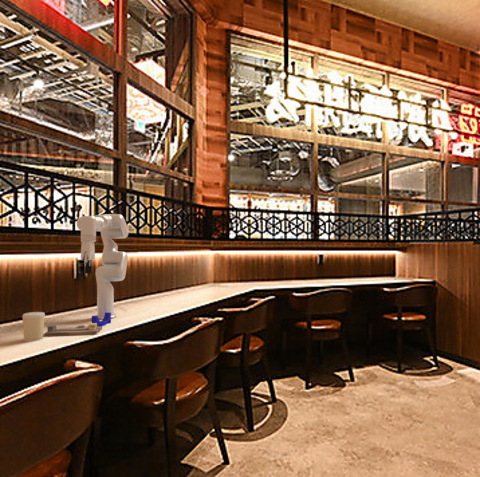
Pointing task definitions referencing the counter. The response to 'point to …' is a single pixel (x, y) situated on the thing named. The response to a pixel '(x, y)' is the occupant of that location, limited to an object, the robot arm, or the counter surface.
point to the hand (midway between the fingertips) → (88, 273)
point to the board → (91, 331)
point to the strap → (72, 328)
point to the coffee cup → (33, 326)
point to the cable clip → (105, 320)
